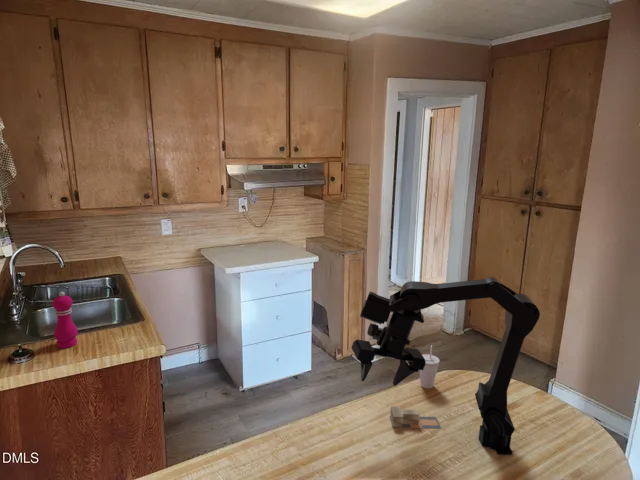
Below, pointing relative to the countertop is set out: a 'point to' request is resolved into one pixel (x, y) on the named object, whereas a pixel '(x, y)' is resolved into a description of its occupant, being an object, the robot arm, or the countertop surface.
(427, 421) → the mat
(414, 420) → the t block
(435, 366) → the smoothie
